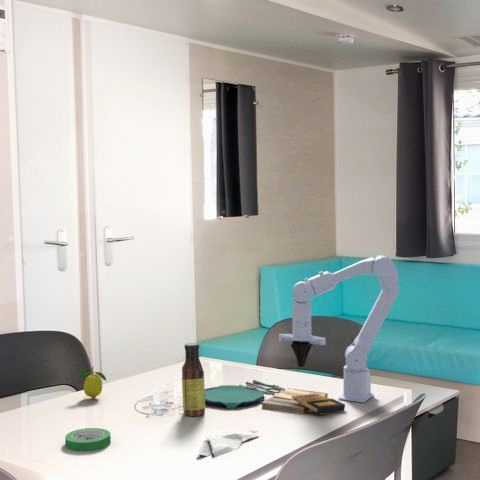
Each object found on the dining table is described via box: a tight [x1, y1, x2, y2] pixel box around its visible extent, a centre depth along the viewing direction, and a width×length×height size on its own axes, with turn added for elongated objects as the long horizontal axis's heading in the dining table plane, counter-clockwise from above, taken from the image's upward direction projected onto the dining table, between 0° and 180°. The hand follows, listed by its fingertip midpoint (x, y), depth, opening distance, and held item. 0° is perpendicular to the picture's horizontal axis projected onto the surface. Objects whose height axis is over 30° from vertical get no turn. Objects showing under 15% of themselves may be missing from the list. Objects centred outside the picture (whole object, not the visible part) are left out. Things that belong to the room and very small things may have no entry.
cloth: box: [195, 429, 260, 461], centre depth 194 cm, size 26×14×2 cm, turn 133°
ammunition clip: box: [292, 393, 346, 415], centre depth 223 cm, size 11×2×12 cm
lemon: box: [77, 365, 107, 400], centre depth 234 cm, size 7×6×10 cm
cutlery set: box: [205, 379, 287, 410], centre depth 238 cm, size 20×30×2 cm, turn 137°
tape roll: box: [64, 427, 112, 452], centre depth 194 cm, size 11×11×3 cm
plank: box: [272, 387, 329, 401], centre depth 233 cm, size 11×13×2 cm
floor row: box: [261, 396, 310, 415], centre depth 224 cm, size 6×13×2 cm, turn 62°
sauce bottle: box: [181, 342, 206, 417], centre depth 219 cm, size 7×6×20 cm
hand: (301, 366), depth 236 cm, fingers closed
